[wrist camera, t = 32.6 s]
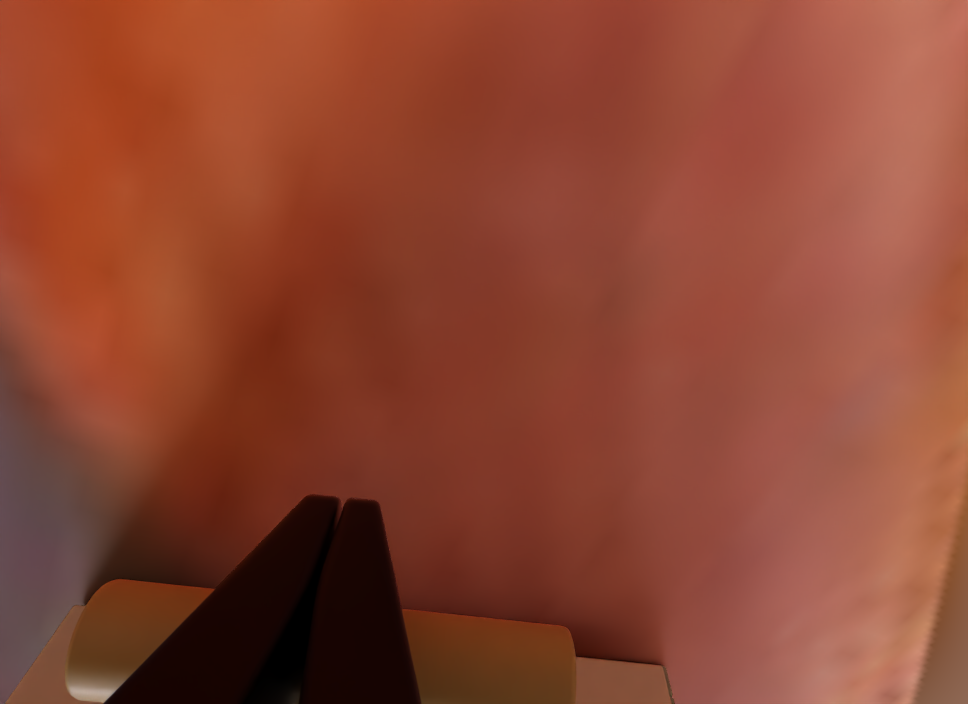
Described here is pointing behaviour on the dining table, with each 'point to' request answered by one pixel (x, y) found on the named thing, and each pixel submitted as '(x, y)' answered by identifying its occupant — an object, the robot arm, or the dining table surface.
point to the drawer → (432, 639)
